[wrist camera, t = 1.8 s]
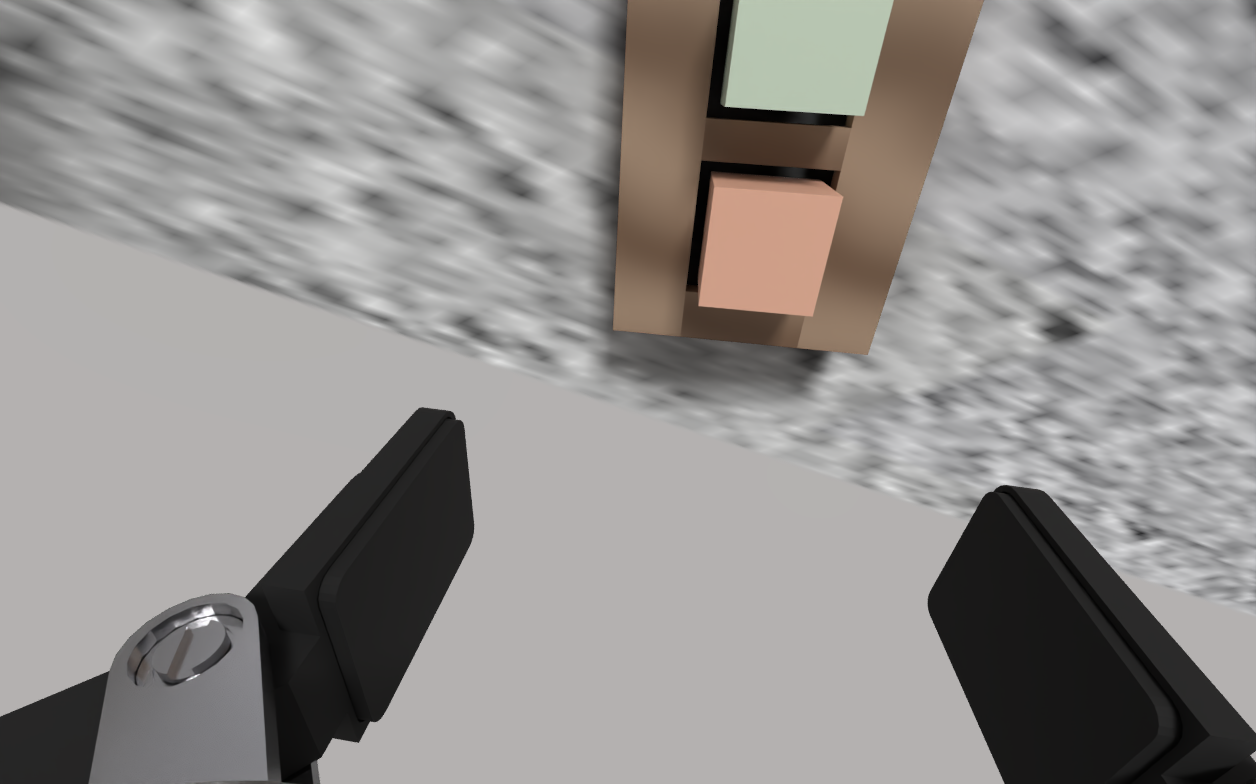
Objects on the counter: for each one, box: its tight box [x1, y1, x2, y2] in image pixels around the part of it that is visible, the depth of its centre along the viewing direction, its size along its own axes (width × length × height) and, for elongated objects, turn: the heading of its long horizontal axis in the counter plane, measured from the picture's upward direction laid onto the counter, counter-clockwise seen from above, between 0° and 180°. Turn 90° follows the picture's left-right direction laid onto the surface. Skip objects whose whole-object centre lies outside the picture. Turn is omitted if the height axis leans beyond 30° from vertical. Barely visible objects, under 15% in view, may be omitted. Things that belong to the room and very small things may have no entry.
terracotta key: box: [698, 171, 843, 317], centre depth 21 cm, size 4×4×4 cm
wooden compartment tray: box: [613, 0, 984, 355], centre depth 20 cm, size 24×12×4 cm, turn 177°
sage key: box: [720, 0, 894, 116], centre depth 18 cm, size 4×4×4 cm
